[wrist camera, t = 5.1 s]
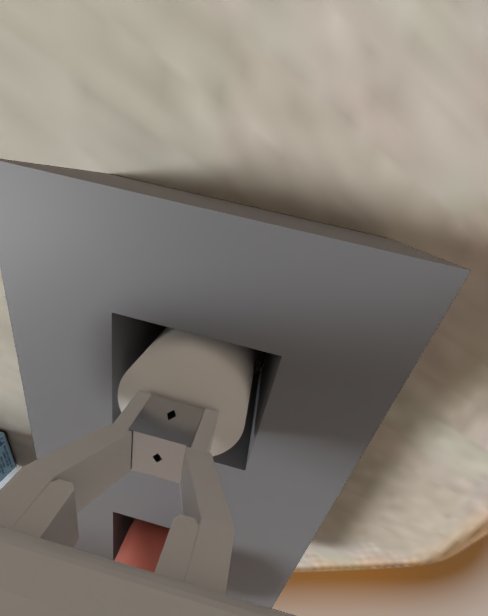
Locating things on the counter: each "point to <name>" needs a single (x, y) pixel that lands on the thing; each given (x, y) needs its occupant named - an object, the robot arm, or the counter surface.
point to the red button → (143, 545)
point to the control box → (218, 325)
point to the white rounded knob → (196, 379)
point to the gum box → (5, 457)
